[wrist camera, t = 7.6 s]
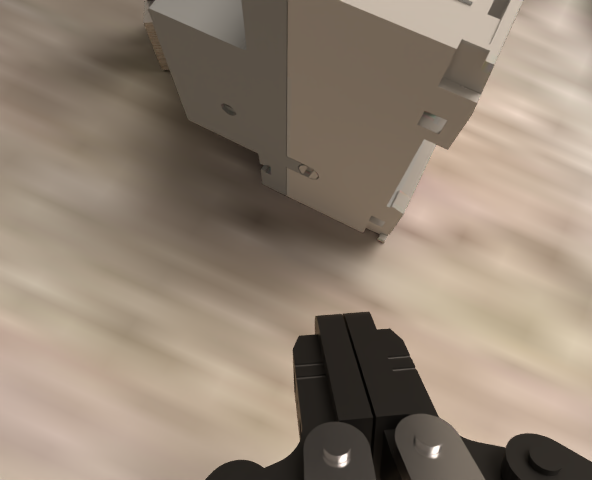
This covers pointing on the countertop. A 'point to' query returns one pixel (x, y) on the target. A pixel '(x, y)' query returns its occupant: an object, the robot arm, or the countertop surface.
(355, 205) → the circuit breaker
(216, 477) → the robot arm
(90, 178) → the countertop surface
